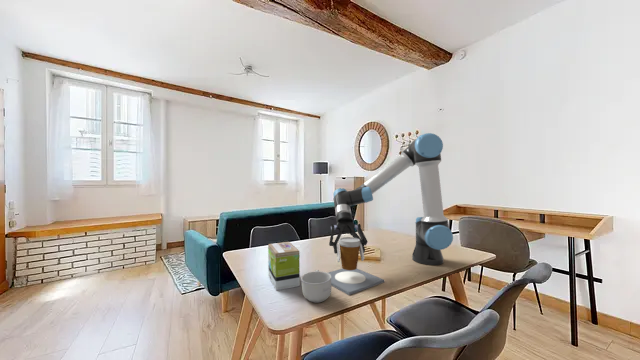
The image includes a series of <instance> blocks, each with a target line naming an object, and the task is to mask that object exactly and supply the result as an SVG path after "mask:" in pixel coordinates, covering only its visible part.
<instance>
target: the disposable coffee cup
mask: <svg viewBox="0 0 640 360" xmlns="http://www.w3.org/2000/svg"><path fill="white" fill-rule="evenodd" d="M337 244H339V251H340V262H341V269H345V270H355V269H358V262H359V256H360V251H359V247H360V244H361V242H360V240H359V239H358V238H354V237H353V236H352V237H351V236H350V237H349V236H346V237H345V236H344V237H340V239H339V241H338V243H337Z"/></svg>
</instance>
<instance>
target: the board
mask: <svg viewBox="0 0 640 360" xmlns="http://www.w3.org/2000/svg"><path fill="white" fill-rule="evenodd" d="M327 273H329V274H330V275H331V287H333V288H336V289H337V290H339V291H340V292H342V293H344V294H345V295H348V296H350V295H353V294H356V293H359V292H361V291H364V290H368V289H370V288H373V287H375V286H378V285H381V284H383V283H385V279H384V278H382V277H379V276H377V275H373V274H371V273H370V272H366V271H364V270H361V269H360V268H357V269H355V270H345V269H343V268H340V269H336V270H332V271H329V272H327Z"/></svg>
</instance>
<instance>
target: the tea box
mask: <svg viewBox="0 0 640 360" xmlns="http://www.w3.org/2000/svg"><path fill="white" fill-rule="evenodd" d="M267 250H268V251H267V252H268V253H267V254H268V257H267V258H268V261H267V263H268V272H267V273H268V278H269V280H270V281H271V284H272V285H273V287H274V289H275V290H276V291H282V290H286V289H291V288H296V287H299V286H300V281H301V278H300V274H301V273H300V272H301V271H300V264H301V263H300V250H299V248H297V247H296V246H295V245H294V244H292V243H291V241H282V242H277V243H276V242H275V243H268V247H267Z"/></svg>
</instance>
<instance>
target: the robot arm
mask: <svg viewBox="0 0 640 360" xmlns="http://www.w3.org/2000/svg"><path fill="white" fill-rule="evenodd" d="M443 149H444V143H443V141H442V139H441V137H440V136H438V135H437V134H435V133H431V132H430V133H429V132H428V133H423V134H421V135H419V136H417V138H416V139H414V140H413V141H412V142H411V143H410V144H409V145H408V146H407V147H405V148H404V150H403V151H402V152H401V153H400V155H399V156H397V158H395V159H394V160H392V161H391V162H390V163H388V164H387V165H386V166H385V167H383V168H382V169H381V170H379V171H378V172H376V173H375V174H374V175H373V176H372V177H370V178H369V179H368V180H366V181H365V182H364V183H362V184H361V185H359V187H357V188H355V189H353V190H348V191H347V189H346V188H341V187H339V188H337V189H335V190H334V191H333V192H332V193H333V200H332V201H333V205H334V210H335V211H334V212H335V219H336V224H333V223H331V225H330V232H331V233H330V238H329V244H328V245H329V247H332V248H333V252H334V254H336V257H337V262H338V263H340V262H341V254H340V245H339V243H338V242H339V240H340V238H342V235H344V234H345V235H346V234H347V235H350V237H351V236H352V238H358V239H359V240H360V242H361V244H360V247H359V256H360V260H361V262H364V260H365V252H366V248H365V246H367V244H368V239H367V238H366V235H365V234H364V232H363V230H362V229H363V228H362V225H361V223H358V224H355V223H354V220H353V215H352V210H351V207H353V206H356V205H360V204H366V203H367V204H368V203H370V202H372V201H373V200H374V196H373V194H374V193H376V192H377V191H379V190H380V189H382V188H383V187H384V186H386V185H387V184H388V183H389V182H391V181H392V180H393V179H395V178H396V177H397V176H399V175H400V174H402V173H403V172H404V171H405V170H407V169H408V168H409V167H414V166H416V167H418V173H419V174H418V175H419V182H420V192H421V201H422V210H423V216H417V217H416V218H415V222H414V223H415V246H414V249H413V251H412V256H411V258H412V260H413V261H414V262H416V263H419V264H422V265H426V266H427V265H429V266H440V265H443V264H444V256H443V253H442V250H445V249H447V248H448V247H450V246H451V245H452V243H453V240H454V235H453V233H452V231H451V229H450V228H449V219H448V218H447V216H445V214H444V207H443V197H442V196H443V195H442V188H441V179H440V171H439V170H440V168H439V164H440V163H441V162H442V155H441V153H442V151H443ZM336 229H337V230H338V234H337V236H336V238H335V240H334V234H335V230H336ZM356 231H357V232H356ZM442 263H443V264H442Z"/></svg>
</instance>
